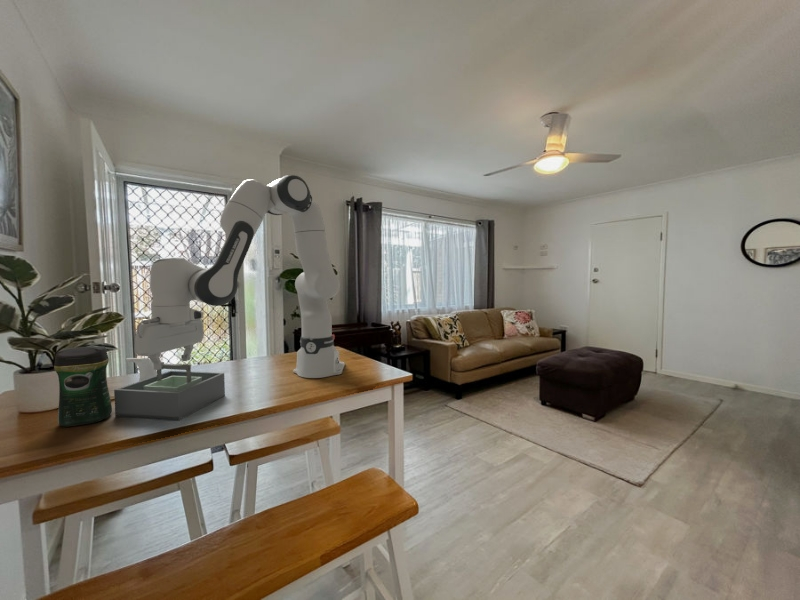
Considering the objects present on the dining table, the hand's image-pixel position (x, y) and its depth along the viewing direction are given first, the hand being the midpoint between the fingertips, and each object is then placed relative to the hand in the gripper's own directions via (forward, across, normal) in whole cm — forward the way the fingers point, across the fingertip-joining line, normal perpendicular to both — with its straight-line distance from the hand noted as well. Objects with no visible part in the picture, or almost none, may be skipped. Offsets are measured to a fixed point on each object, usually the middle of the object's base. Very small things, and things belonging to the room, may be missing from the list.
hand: (173, 364), depth 93 cm
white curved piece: (+12, +6, +16) cm, 21 cm away
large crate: (+12, 0, 0) cm, 12 cm away
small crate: (+11, 0, 0) cm, 11 cm away
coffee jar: (+12, -12, +14) cm, 22 cm away
